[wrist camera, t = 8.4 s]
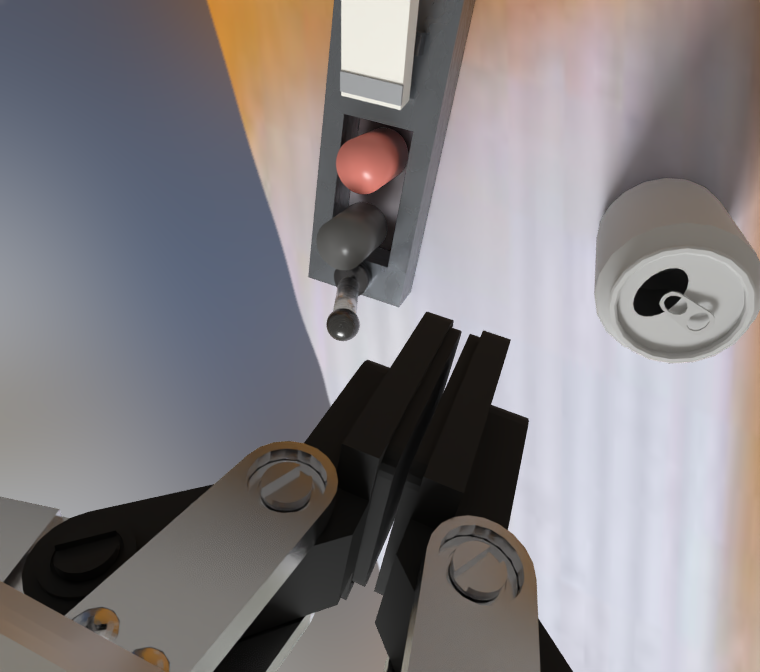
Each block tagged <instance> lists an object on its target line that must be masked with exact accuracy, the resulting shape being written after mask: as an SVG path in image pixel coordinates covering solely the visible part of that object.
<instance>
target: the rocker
mask: <svg viewBox="0 0 760 672" xmlns="http://www.w3.org/2000/svg"><path fill="white" fill-rule="evenodd" d="M418 6H419V0H341V71H340V92H341V96H345V97H349V98H353V99H357V100H361V101H365V102H370V103H374V104H378V105H382V106H386V107H390V108H394V109H398V110H401V109H402V108H403V107H404V106H405V105H406V104H407V102H408V101H409V97H410V87H411V77H412V67H413V57H414V47H415V37H416V27H417V17H418Z"/></svg>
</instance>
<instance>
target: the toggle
mask: <svg viewBox="0 0 760 672" xmlns="http://www.w3.org/2000/svg"><path fill="white" fill-rule="evenodd" d="M358 292H359V285H358V282H357V281H356V280H355V279H354V278H352V277H345V278H343V279H341V280H340V281H339V283H338V287H337V293H336V299H335V304H334V310H333V312H332V313H331V314H330V315H329V317H328V319H327V330H328V332H329V334H330V335H331V336H332V337H333V338H334V339H336V340H339V341H347V340H350V339H352V338H353V337H354V336H355V335H356V334H357V333H358V330H359V326H360V324H359V319H358V317H357V315H356V311H357V302H358Z"/></svg>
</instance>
